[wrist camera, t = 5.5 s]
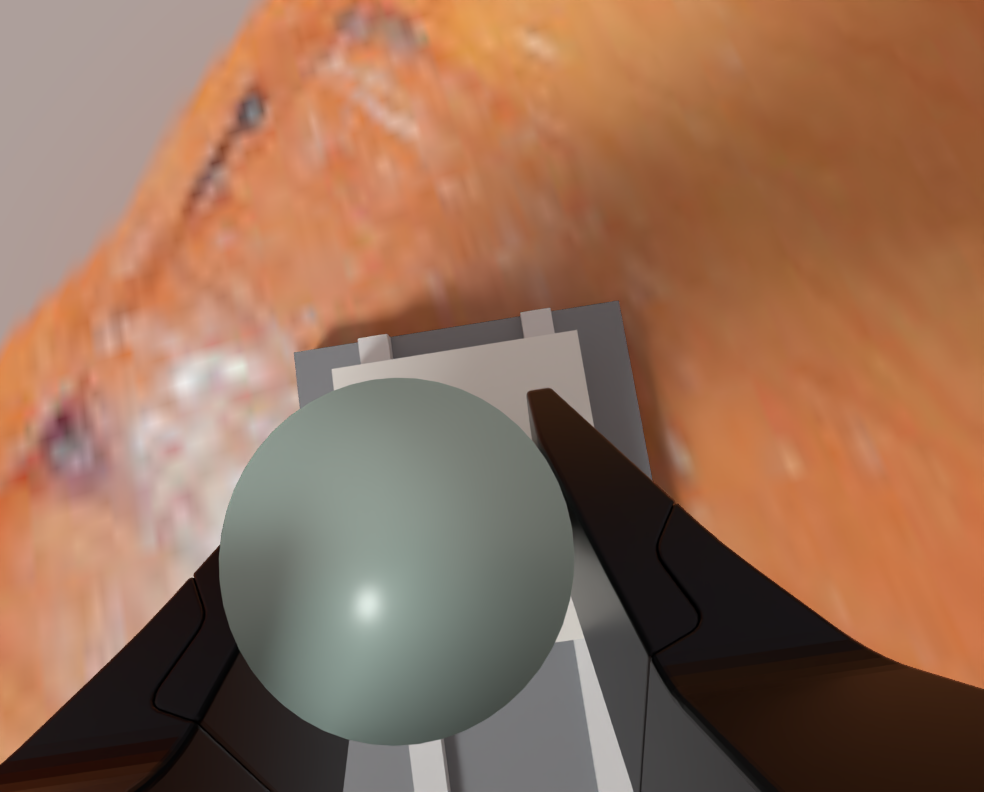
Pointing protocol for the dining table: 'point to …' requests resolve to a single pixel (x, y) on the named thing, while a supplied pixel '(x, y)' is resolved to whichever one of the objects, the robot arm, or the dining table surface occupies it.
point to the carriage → (407, 543)
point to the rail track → (568, 668)
